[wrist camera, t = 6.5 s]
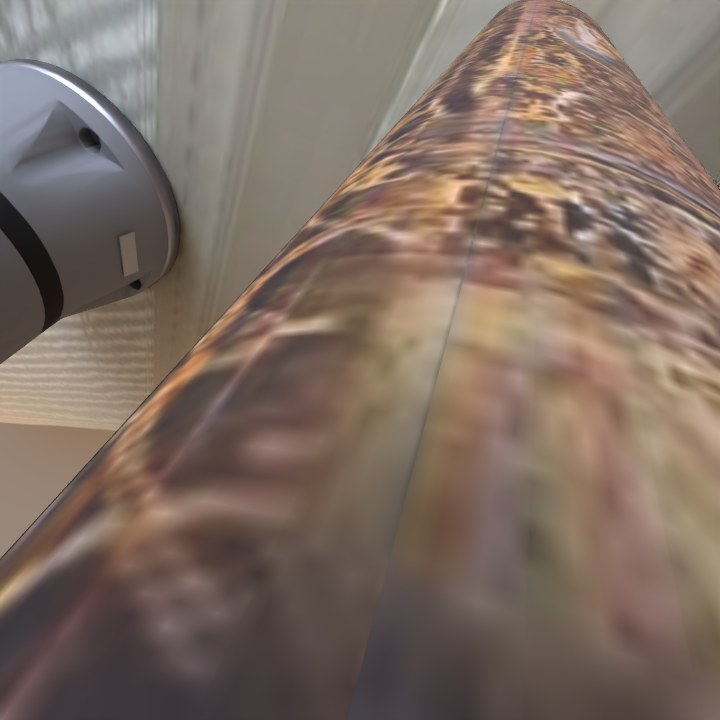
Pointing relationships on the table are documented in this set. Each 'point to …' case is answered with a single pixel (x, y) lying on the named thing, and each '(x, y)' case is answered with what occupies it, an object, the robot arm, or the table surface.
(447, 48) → the table surface
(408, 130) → the book
